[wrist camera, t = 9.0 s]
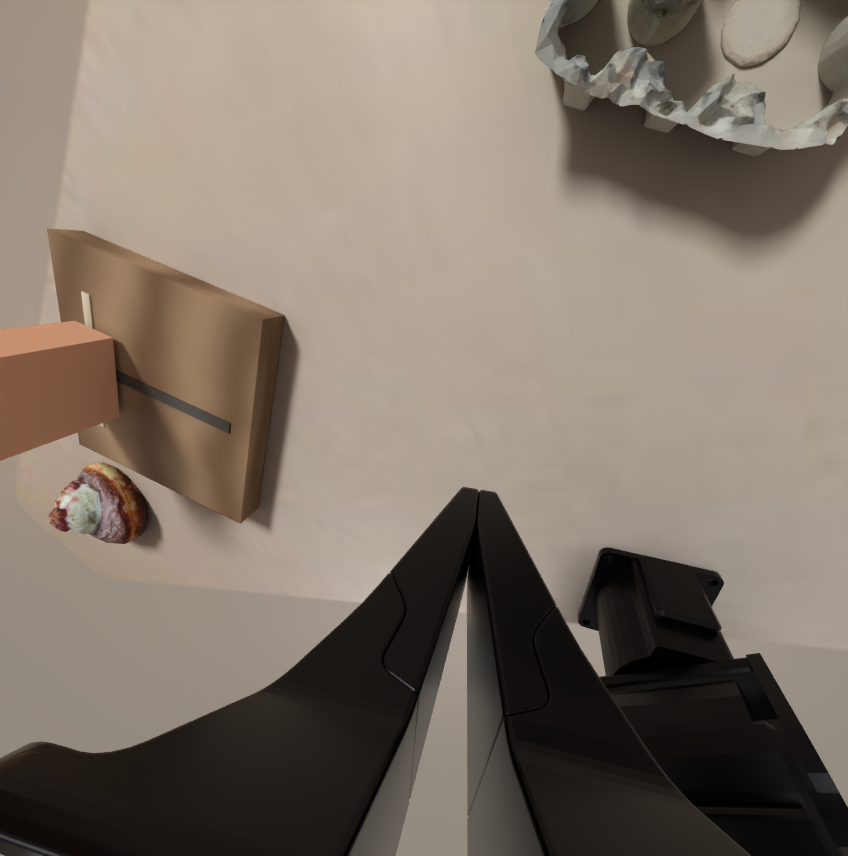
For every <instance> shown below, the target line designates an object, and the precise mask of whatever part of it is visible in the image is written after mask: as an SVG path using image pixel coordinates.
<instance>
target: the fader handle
mask: <svg viewBox="0 0 848 856" xmlns="http://www.w3.org/2000/svg"><path fill="white" fill-rule="evenodd" d="M118 417H120V415H119V404H118V392H117V380H116V369H115V357H114V346H113V338H112V337H110V336H108V335H105V334H103V333H101V332H99V331H97V330H94V329H92V328H90V327H88V326H86V325H83V324H81V323H79V322H77V321H68V322H60V323H52V324H44V325H36V326H28V327H20V328H12V329H4V330H0V461H1V460H3V459H6V458H8V457H11V456H14V455H17V454H20V453H22V452H25V451H28V450H31V449H33V448H36V447H39V446H42V445H44V444H47V443H50V442H53V441H55V440H58V439H61V438H63V437H66V436H69V435H72V434H74V433H77V432H80V431H83V430H85V429H88V428H91V427H94V426H96V425H99V424H102V423H104V422H107V421H110V420H113V419H115V418H118Z"/></svg>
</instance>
